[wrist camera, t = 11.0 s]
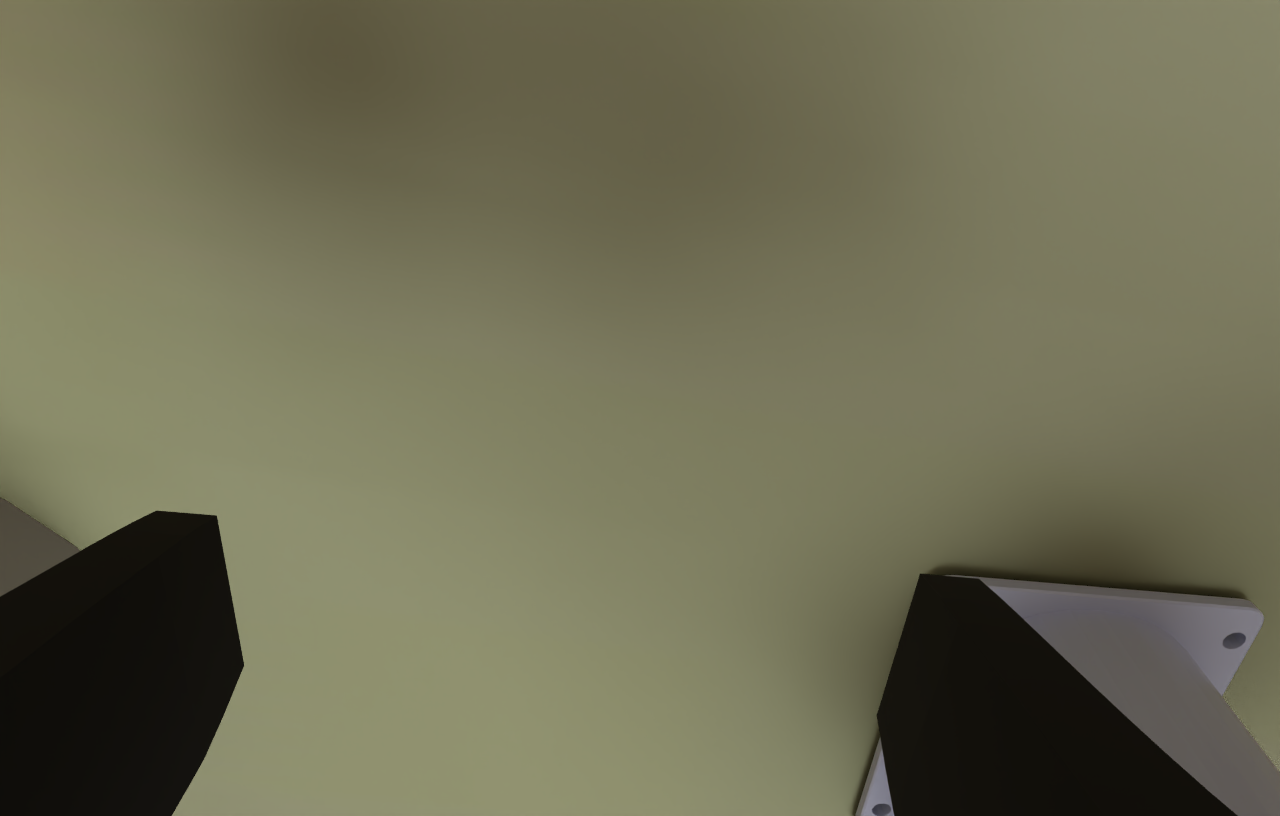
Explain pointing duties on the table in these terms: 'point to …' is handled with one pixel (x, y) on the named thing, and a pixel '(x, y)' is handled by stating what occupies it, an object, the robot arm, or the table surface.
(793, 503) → the table surface
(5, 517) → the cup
